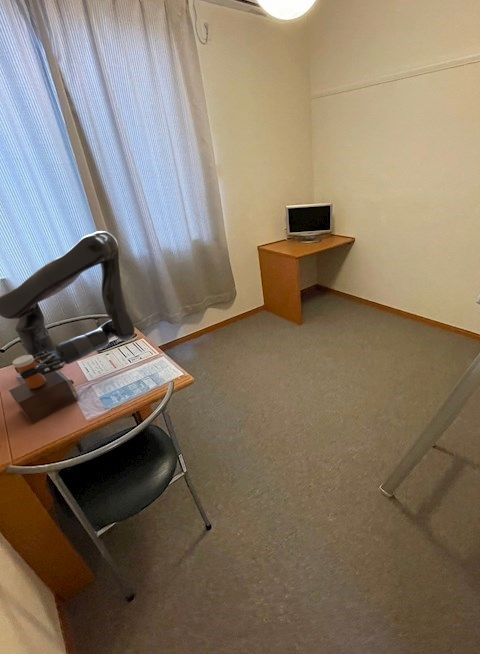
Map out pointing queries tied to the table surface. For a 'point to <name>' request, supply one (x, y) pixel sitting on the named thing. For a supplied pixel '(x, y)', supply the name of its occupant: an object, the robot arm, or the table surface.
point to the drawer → (69, 383)
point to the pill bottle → (25, 364)
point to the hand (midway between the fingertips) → (19, 373)
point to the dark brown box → (43, 397)
